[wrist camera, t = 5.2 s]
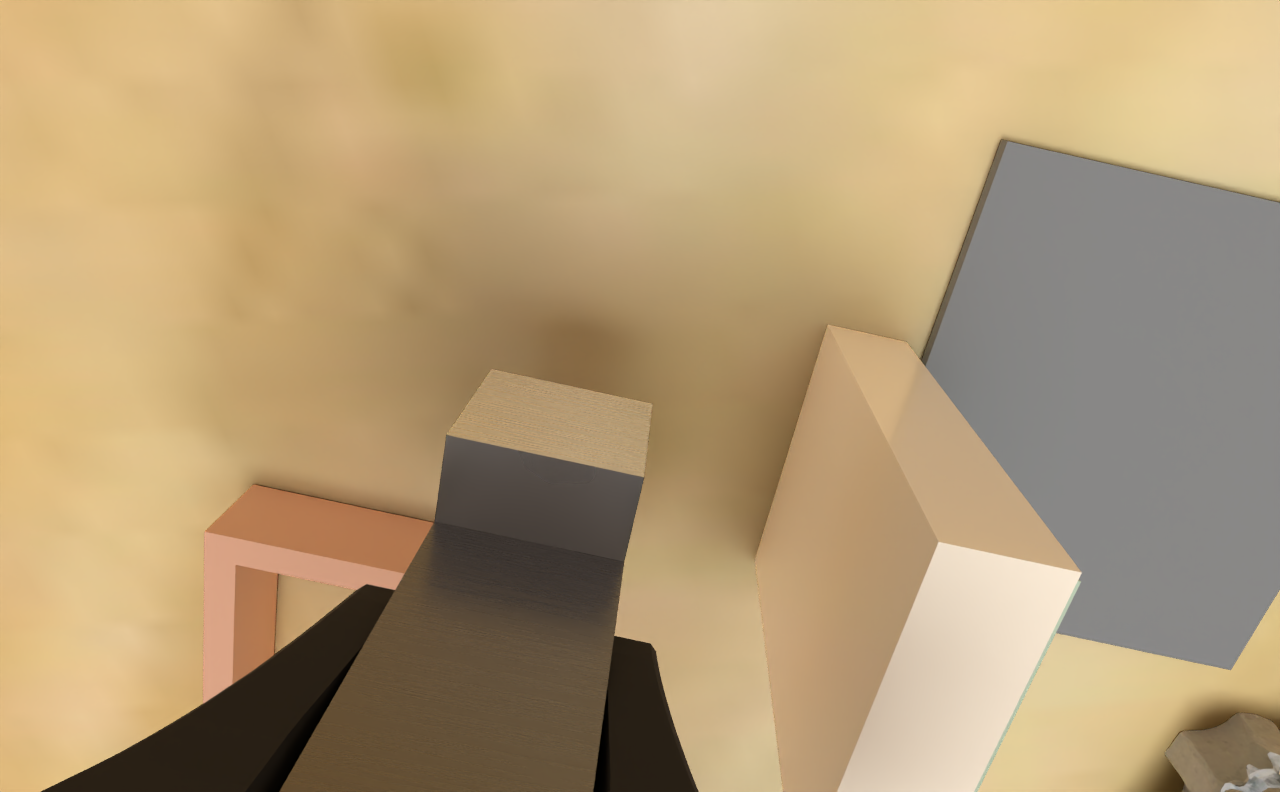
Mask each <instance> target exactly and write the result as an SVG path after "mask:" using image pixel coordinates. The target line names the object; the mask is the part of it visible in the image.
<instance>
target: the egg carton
mask: <svg viewBox="0 0 1280 792" xmlns="http://www.w3.org/2000/svg"><path fill="white" fill-rule="evenodd" d="M1165 756H1166V757H1167V758H1168V760H1169V761H1170V762H1171V764H1172V765H1173V767H1174V768H1175V770H1176V771H1177V772H1178V773H1179V775H1180V776H1181V778H1182V780H1183V781H1184V783H1185V784H1184V788H1183V790H1182V791H1181V792H1280V774H1279V771H1280V731H1279V729H1278V728H1277V726H1276V725H1275V724H1274V723H1273V722H1272V721H1271V720H1269V719H1266V718H1264V717H1261V716H1259V715H1255V714H1250V713H1236V714H1235V715H1234V716H1232V717H1231V718H1230V719H1229V720H1227V721H1226V722H1225V723H1223V724H1221V725H1219V726H1217V727H1214V728H1210V729H1206V730H1193V731H1182V732H1180V733H1179V735H1178V736H1177V737H1176V738H1175V740H1174V741H1173V743H1172V744H1171V745H1170V747H1169V748H1168V749H1167V750H1166V751H1165Z"/></svg>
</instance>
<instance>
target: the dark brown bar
mask: <svg viewBox="0 0 1280 792" xmlns="http://www.w3.org/2000/svg"><path fill="white" fill-rule="evenodd" d="M651 413H652V403H647V402H642V401H638V400H633V399H629V398H624V397H619V396H615V395H610V394H605V393H601V392H596V391H592V390H587V389H582V388H578V387H573V386H569V385H564V384H559V383H555V382H550V381H545V380H541V379H536V378H532V377H527V376H522V375H518V374H513V373H509V372H504V371H499V370H495V369H491V370H490V372H489V373H488V375H487V376H486V378H485V379H484V380H483V382H482V383H481V385H480V386H479V388H478V389H477V391H476V392H475V394H474V395H473V397H472V398H471V400H470V401H469V402H468V404H467V405H466V407H465V408H464V410H463V411H462V413H461V414H460V416H459V417H458V419H457V420H456V422H455V423H454V425H453V426H452V427H451V429H450V430H449V432H448V433H447V435H446V442H445V449H444V457H443V464H442V471H441V479H440V486H439V493H438V501H437V508H436V515H435V522H434V523H433V525H432V527H431V529H430V530H429V532H428V534H427V536H426V537H425V539H424V541H423V543H422V544H421V546H420V548H419V550H418V551H417V553H416V555H415V556H414V558H413V560H412V562H411V563H410V565H409V567H408V569H407V570H406V572H405V574H404V576H403V577H402V579H401V581H400V583H399V584H398V586H397V588H396V590H395V591H394V593H393V595H392V597H391V598H390V600H389V602H388V603H387V605H386V607H385V609H384V610H383V612H382V614H381V616H380V617H379V619H378V621H377V623H376V624H375V626H374V628H373V630H372V631H371V633H370V635H369V637H368V638H367V640H366V642H365V644H364V645H363V647H362V649H361V650H360V652H359V654H358V656H357V657H356V659H355V661H354V663H353V664H352V666H351V668H350V670H349V671H348V673H347V675H346V677H345V678H344V680H343V682H342V684H341V685H340V687H339V689H338V690H337V692H336V694H335V696H334V697H333V699H332V701H331V703H330V704H329V706H328V708H327V710H326V711H325V713H324V715H323V717H322V718H321V720H320V722H319V724H318V725H317V727H316V729H315V731H314V732H313V734H312V736H311V737H310V739H309V741H308V743H307V744H306V746H305V748H304V750H303V751H302V753H301V755H300V757H299V758H298V760H297V762H296V764H295V765H294V767H293V769H292V771H291V772H290V774H289V776H288V778H287V779H286V781H285V783H284V784H283V786H282V788H281V790H280V791H279V792H593V789H594V782H595V774H596V767H597V759H598V752H599V745H600V737H601V730H602V722H603V715H604V707H605V700H606V693H607V685H608V678H609V670H610V663H611V656H612V648H613V641H614V633H615V626H616V618H617V611H618V604H619V596H620V589H621V581H622V574H623V567H624V560H625V556H626V552H627V548H628V543H629V539H630V535H631V531H632V526H633V522H634V518H635V514H636V510H637V505H638V501H639V497H640V493H641V489H642V484H643V480H644V474H645V466H646V457H647V448H648V439H649V430H650V421H651Z"/></svg>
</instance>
